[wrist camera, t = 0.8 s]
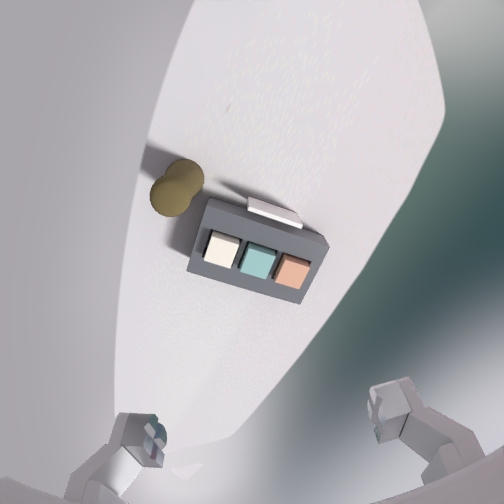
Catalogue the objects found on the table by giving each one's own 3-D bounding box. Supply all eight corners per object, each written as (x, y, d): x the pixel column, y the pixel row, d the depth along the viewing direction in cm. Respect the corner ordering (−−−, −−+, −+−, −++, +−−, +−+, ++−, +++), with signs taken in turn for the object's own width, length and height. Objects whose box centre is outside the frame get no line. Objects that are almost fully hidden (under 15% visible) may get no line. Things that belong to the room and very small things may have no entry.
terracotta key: (283, 250, 47) (285, 259, 44) (306, 258, 48) (310, 267, 45) (273, 272, 49) (275, 282, 46) (296, 279, 49) (299, 289, 47)
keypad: (213, 184, 45) (210, 193, 41) (328, 224, 48) (336, 237, 44) (190, 258, 50) (185, 273, 46) (296, 290, 54) (300, 307, 49)
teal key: (249, 239, 46) (249, 248, 43) (274, 247, 47) (275, 256, 44) (240, 261, 48) (240, 271, 45) (264, 269, 48) (265, 279, 46)
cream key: (213, 228, 45) (211, 236, 42) (239, 236, 46) (239, 244, 43) (206, 251, 47) (203, 260, 44) (230, 259, 47) (230, 268, 45)
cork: (167, 199, 46) (147, 225, 36) (163, 161, 43) (139, 177, 33) (206, 196, 46) (195, 222, 36) (202, 157, 43) (190, 172, 33)
